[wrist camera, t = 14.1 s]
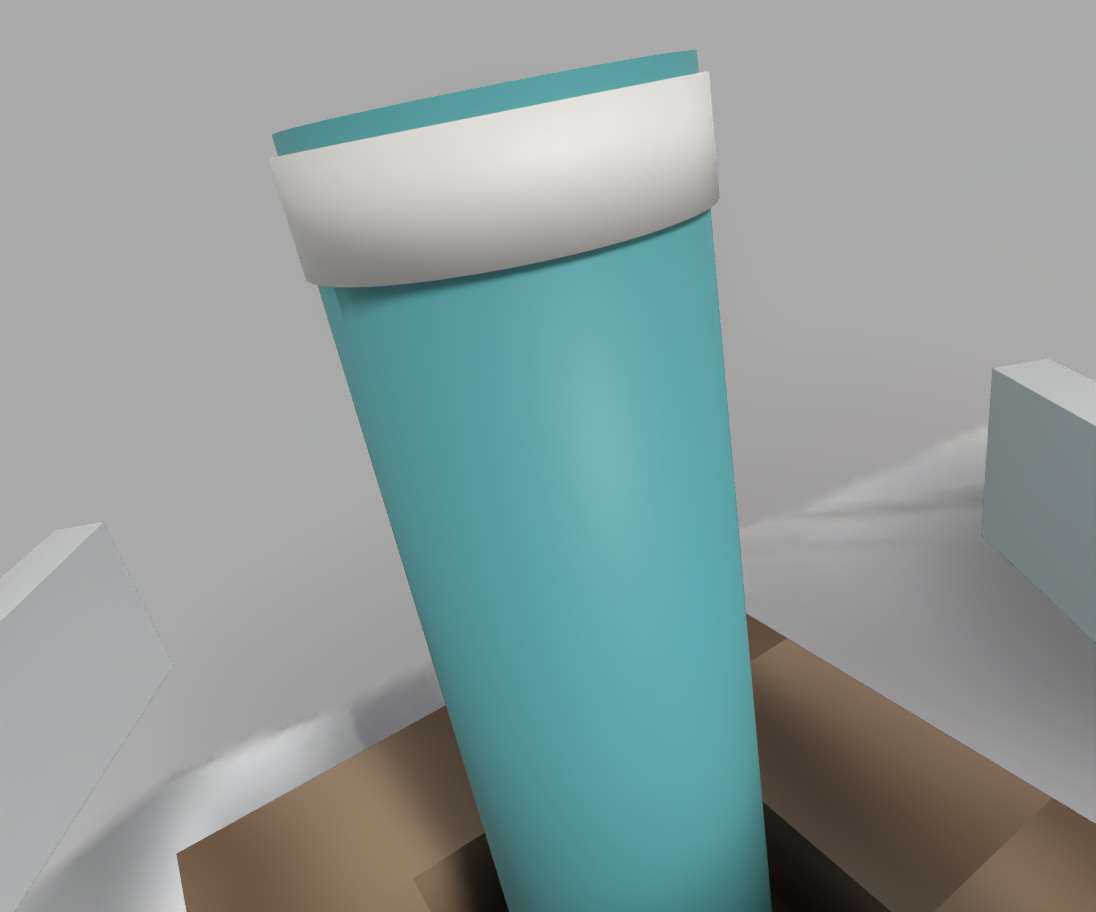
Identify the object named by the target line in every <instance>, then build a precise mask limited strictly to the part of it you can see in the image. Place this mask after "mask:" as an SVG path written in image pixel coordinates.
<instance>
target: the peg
mask: <svg viewBox="0 0 1096 912" xmlns="http://www.w3.org/2000/svg"><path fill="white" fill-rule="evenodd" d="M272 137H273V141H274V143H275V147H276V150H277V154H278V156H277V157H273V158H269V163H270V166H271V169H272V172H273V175H274V179H275V182H276V185H277V188H278V191H279V194H280V198H281V201H282V204H283V207H284V211H285V214H286V217H287V220H288V224H289V226H290V230H291V233H292V236H293V240H294V243H295V246H296V249H297V253H298V256H299V259H300V262H301V265H302V268H303V272H304V275H305V278H306V280H307V281H308V282H310V283H312V284H315V285H318V288H319V291H320V295H321V298H322V301H323V304H324V307H325V311H326V314H327V317H328V321H329V324H330V327H331V331H332V334H333V337H334V340H335V344H336V347H337V350H338V353H339V357H340V360H341V363H342V367H343V369H344V373H345V376H346V379H347V383H348V386H349V389H350V393H351V396H352V399H353V402H354V406H355V409H356V412H357V416H358V419H359V422H360V425H361V429H362V432H363V435H364V439H365V442H366V445H367V448H368V452H369V455H370V458H371V461H372V465H373V468H374V471H375V474H376V477H377V481H378V484H379V487H380V491H381V494H382V497H383V501H384V504H385V507H386V510H387V514H388V517H389V520H390V523H391V527H392V530H393V533H394V537H395V540H396V543H397V546H398V550H399V553H400V556H401V560H402V563H403V566H404V569H405V573H406V576H407V579H408V582H409V585H410V589H411V592H412V596H413V598H414V602H415V605H416V609H417V612H418V615H419V618H420V622H421V625H422V628H423V631H424V635H425V638H426V641H427V645H428V648H429V651H430V654H431V658H432V661H433V664H434V668H435V671H436V674H437V677H438V681H439V684H440V687H441V690H442V694H443V697H444V700H445V704H446V707H447V710H448V713H449V717H450V720H451V723H452V726H453V730H454V733H455V736H456V740H457V743H458V746H459V749H460V753H461V756H462V759H463V762H464V766H465V769H466V772H467V776H468V779H469V782H470V785H471V789H472V792H473V795H474V798H475V802H476V805H477V808H478V812H479V815H480V818H481V821H482V825H483V828H484V831H485V834H486V838H487V841H488V844H489V848H490V851H491V854H492V857H493V861H494V864H495V867H496V870H497V874H498V877H499V880H500V884H501V887H502V890H503V893H504V897H505V900H506V903H507V906H508V910H509V912H772V905H771V894H770V882H769V871H768V859H767V848H766V836H765V825H764V814H763V802H762V791H761V779H760V768H759V757H758V745H757V734H756V722H755V711H754V699H753V688H752V677H751V665H750V654H749V642H748V631H747V620H746V608H745V597H744V585H743V574H742V563H741V551H740V540H739V528H738V517H737V505H736V494H735V483H734V472H733V462H732V461H733V460H732V449H731V437H730V426H729V414H728V403H727V391H726V381H725V368H724V357H723V346H722V334H721V324H720V311H719V300H718V290H717V278H716V266H715V255H714V243H713V231H712V221H711V210H710V208H711V207H712V206H713V205H715V204H716V203H717V202H718V200H719V186H718V175H717V162H716V150H715V138H714V125H713V114H712V102H711V89H710V77H709V71H706V72H701V73H699V72H698V60H697V51H696V50H691V51H681V52H673V53H666V54H660V55H653V56H647V57H641V58H635V59H629V60H623V61H618V62H612V63H606V64H601V65H595V66H590V67H585V68H579V69H573V70H568V71H563V72H558V73H552V74H546V75H541V76H536V77H531V78H526V79H520V80H515V81H510V82H505V83H500V84H495V85H490V86H485V87H480V88H475V89H470V90H465V91H460V92H455V93H450V94H445V95H440V96H435V97H430V98H425V99H421V100H416V101H411V102H406V103H401V104H397V105H392V106H387V107H383V108H378V109H373V110H369V111H364V112H360V113H355V114H351V115H346V116H342V117H338V118H333V119H329V120H324V121H320V122H316V123H312V124H307V125H304V126H299V127H295V128H291V129H288V130H285V131H281V132H277V133H275V134H272Z"/></svg>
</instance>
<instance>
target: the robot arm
mask: <svg viewBox="0 0 1096 912" xmlns="http://www.w3.org/2000/svg"><path fill="white" fill-rule="evenodd" d="M981 535H982V536H983V537H984V538H985V539H986V540H987V541H988V542H989V543H990V544H991V545H992V546H993V547H994V548H995V549H996V550H998V551H999V552H1000V553H1001V554H1002V555H1003V556H1004V557H1005V558H1006V559H1007V560H1008V561H1009V562H1010V563H1011V564H1012V565H1013V566H1014V567H1016V568H1017V569H1018V570H1019V571H1020V572H1021V573H1022V574H1023V575H1024V576H1025V577H1026V578H1027V579H1028V580H1029V581H1030V582H1031V583H1032V584H1034V585H1035V586H1036V587H1037V588H1038V589H1039V590H1040V591H1041V592H1042V593H1043V594H1044V595H1045V596H1046V597H1047V598H1048V599H1049V600H1050V601H1052V602H1053V603H1054V604H1055V605H1056V606H1057V607H1058V608H1059V609H1060V610H1061V611H1062V612H1063V613H1064V614H1065V615H1066V616H1067V617H1068V618H1069V619H1071V620H1072V621H1073V622H1074V623H1075V624H1076V625H1077V626H1078V627H1079V628H1080V629H1081V630H1082V631H1083V632H1084V633H1085V634H1086V635H1087V636H1089V637H1090V638H1091V639H1092V640H1093V641H1094V642H1095V643H1096V381H1094V380H1091V379H1089V378H1087V377H1085V376H1083V375H1081V374H1079V373H1077V372H1075V371H1073V370H1071V369H1069V368H1067V367H1064V366H1062V365H1060V364H1058V363H1056V362H1054V361H1052V360H1050V359H1043V360H1037V361H1031V362H1025V363H1019V364H1013V365H1008V366H1002V367H996V368H993V369H992V381H991V397H990V412H989V427H988V443H987V458H986V473H985V488H984V504H983V519H982V534H981ZM172 667H173V664H172V662H171V660H170V658H169V656H168V654H167V652H166V650H165V648H164V646H163V644H162V642H161V640H160V637H159V635H158V633H157V631H156V629H155V627H154V625H153V623H152V621H151V619H150V617H149V615H148V613H147V611H146V608H145V606H144V604H143V602H142V600H141V598H140V596H139V594H138V592H137V590H136V588H135V586H134V584H133V582H132V579H131V577H130V575H129V573H128V571H127V569H126V567H125V565H124V563H123V561H122V559H121V557H120V555H119V553H118V550H117V548H116V546H115V544H114V542H113V540H112V538H111V536H110V534H109V532H108V530H107V528H106V526H105V524H104V522H100V523H94V524H89V525H83V526H78V527H71V528H65V529H60V530H55V531H54V532H53V533H52V534H51V535H49V536H48V537H47V538H46V539H45V540H44V541H43V542H41V543H40V544H39V545H38V546H37V547H36V548H35V549H34V550H32V551H31V552H30V553H29V554H28V555H27V556H26V557H24V558H23V559H22V561H20V562H19V563H18V564H17V565H15V566H14V567H13V568H12V569H11V570H10V571H9V572H8V573H6V574H5V575H4V576H3V577H2V578H1V579H0V912H15V911H16V909H17V907H18V906H19V904H20V903H21V901H22V900H23V898H24V897H25V895H26V894H27V892H28V890H29V889H30V887H31V886H32V884H33V883H34V881H35V879H36V878H37V876H38V875H39V873H40V872H41V870H42V868H43V867H44V866H45V864H46V862H47V861H48V859H49V858H50V856H51V855H52V853H53V852H54V850H55V848H56V847H57V845H58V844H59V842H60V841H61V839H62V837H63V836H64V834H65V833H66V831H67V830H68V828H69V826H70V825H71V823H72V822H73V820H74V819H75V817H76V816H77V814H78V813H79V811H80V810H81V808H82V806H83V805H84V803H85V802H86V800H87V799H88V797H89V796H90V794H91V793H92V791H93V789H94V788H95V786H96V785H97V783H98V782H99V780H100V779H101V777H102V775H103V774H104V772H105V771H106V769H107V768H108V766H109V764H110V763H111V761H112V760H113V758H114V756H115V755H116V754H117V752H118V751H119V749H120V747H121V746H122V744H123V743H124V741H125V740H126V738H127V737H128V735H129V733H130V732H131V730H132V729H133V727H134V726H135V724H136V723H137V721H138V719H139V718H140V716H141V715H142V713H143V711H144V710H145V709H146V707H147V706H148V704H149V702H150V701H151V699H152V698H153V696H154V695H155V693H156V692H157V690H158V688H159V687H160V685H161V684H162V682H163V681H164V679H165V678H166V676H167V674H168V673H169V671H170V670H171V668H172Z"/></svg>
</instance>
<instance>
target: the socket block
mask: <svg viewBox="0 0 1096 912" xmlns="http://www.w3.org/2000/svg"><path fill="white" fill-rule="evenodd" d="M746 620H747V631H748V642H749V654H750V665H751V677H752V688H753V699H754V711H755V722H756V734H757V745H758V757H759V768H760V779H761V791H762V802H763V814H764V825H765V836H766V848H767V859H768V871H769V882H770V894H771V905H772V912H1096V824H1095V823H1093V822H1092V821H1090V820H1088V819H1087V818H1085V817H1083V816H1082V815H1080V814H1078V813H1077V812H1075V811H1073V810H1072V809H1070V808H1068V807H1067V806H1065V805H1063V804H1062V803H1060V802H1058V801H1057V800H1055V799H1053V798H1052V797H1050V796H1048V795H1047V794H1045V793H1043V792H1042V791H1040V790H1038V789H1037V788H1035V787H1034V786H1032V785H1030V784H1029V783H1027V782H1025V781H1024V780H1022V779H1020V778H1019V777H1017V776H1015V775H1014V774H1012V773H1010V772H1009V771H1007V770H1005V769H1004V768H1002V767H1000V766H999V765H997V764H995V763H994V762H992V761H990V760H989V759H987V758H985V757H984V756H982V755H980V754H979V753H977V752H975V751H974V750H972V749H970V748H969V747H967V746H965V745H964V744H962V743H960V742H959V741H957V740H955V739H954V738H952V737H950V736H949V735H947V734H945V733H944V732H942V731H940V730H939V729H937V728H935V727H934V726H932V725H930V724H929V723H927V722H926V721H924V720H922V719H921V718H919V717H917V716H916V715H914V714H912V713H911V712H909V711H907V710H906V709H904V708H902V707H901V706H899V705H897V704H896V703H894V702H892V701H891V700H889V699H887V698H886V697H884V696H882V695H881V694H879V693H877V692H876V691H874V690H872V689H871V688H869V687H867V686H866V685H864V684H862V683H861V682H859V681H857V680H856V679H854V678H852V677H851V676H849V675H847V674H846V673H844V672H842V671H841V670H839V669H837V668H836V667H834V666H832V665H831V664H829V663H827V662H826V661H824V660H822V659H821V658H819V657H818V656H816V655H814V654H813V653H811V652H809V651H808V650H806V649H804V648H803V647H801V646H799V645H798V644H796V643H794V642H793V641H791V640H789V639H788V638H786V637H784V636H783V635H781V634H779V633H778V632H776V631H774V630H773V629H771V628H769V627H768V626H766V625H764V624H763V623H761V622H759V621H758V620H756V619H754V618H753V617H751V616H749V615H748V614H746ZM177 859H178V865H179V871H180V877H181V882H182V888H183V894H184V899H185V905H186V911H187V912H509V910H508V906H507V903H506V900H505V897H504V893H503V890H502V887H501V884H500V880H499V877H498V874H497V870H496V867H495V864H494V861H493V857H492V854H491V851H490V848H489V844H488V841H487V838H486V834H485V831H484V828H483V825H482V821H481V818H480V815H479V812H478V808H477V805H476V802H475V798H474V795H473V792H472V789H471V785H470V782H469V779H468V776H467V772H466V769H465V766H464V762H463V759H462V756H461V753H460V749H459V746H458V743H457V740H456V736H455V733H454V730H453V726H452V723H451V720H450V717H449V713H448V710H447V707H446V706H444V707H442V708H440V709H439V710H437V711H435V712H433V713H431V714H429V715H428V716H426V717H424V718H422V719H420V720H419V721H417V722H415V723H413V724H411V725H410V726H408V727H406V728H404V729H402V730H400V731H399V732H397V733H395V734H393V735H391V736H390V737H388V738H386V739H384V740H382V741H380V742H379V743H377V744H375V745H373V746H371V747H370V748H368V749H366V750H364V751H362V752H360V753H359V754H357V755H355V756H353V757H351V758H350V759H348V760H346V761H344V762H342V763H341V764H339V765H337V766H335V767H333V768H331V769H330V770H328V771H326V772H324V773H322V774H321V775H319V776H317V777H315V778H313V779H311V780H310V781H308V782H306V783H304V784H302V785H301V786H299V787H297V788H295V789H293V790H291V791H290V792H288V793H286V794H284V795H282V796H281V797H279V798H277V799H275V800H273V801H272V802H270V803H268V804H266V805H264V806H262V807H261V808H259V809H257V810H255V811H253V812H252V813H250V814H248V815H246V816H244V817H242V818H241V819H239V820H237V821H235V822H233V823H232V824H230V825H228V826H226V827H224V828H222V829H221V830H219V831H217V832H215V833H213V834H212V835H210V836H208V837H206V838H204V839H203V840H201V841H199V842H197V843H195V844H193V845H192V846H190V847H188V848H186V849H184V850H183V851H181V852H179V853H177Z"/></svg>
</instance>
